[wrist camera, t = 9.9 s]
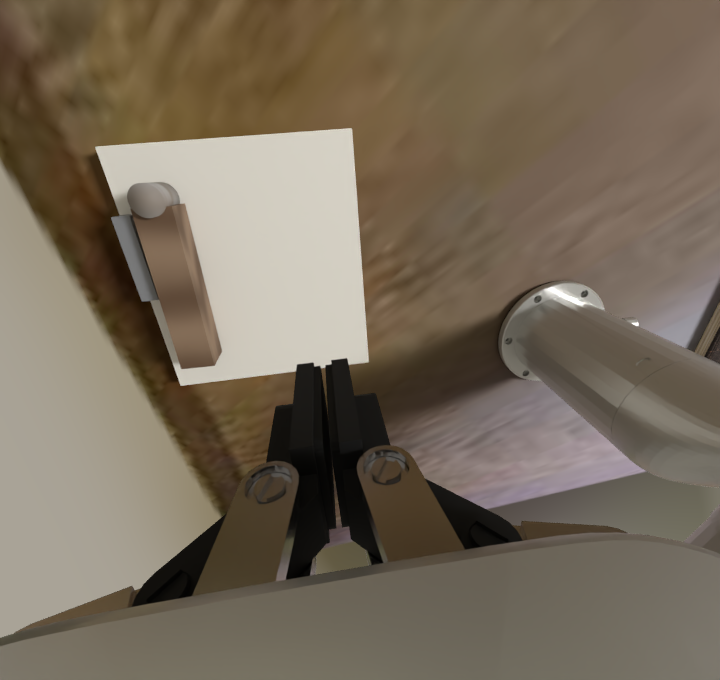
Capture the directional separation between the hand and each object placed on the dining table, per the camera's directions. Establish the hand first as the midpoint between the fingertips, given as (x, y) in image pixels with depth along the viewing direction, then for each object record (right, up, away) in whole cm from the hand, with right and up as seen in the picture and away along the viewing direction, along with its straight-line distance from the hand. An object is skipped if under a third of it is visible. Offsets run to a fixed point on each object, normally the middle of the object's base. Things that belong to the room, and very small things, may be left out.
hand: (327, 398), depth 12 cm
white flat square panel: (-9, +9, +22) cm, 26 cm away
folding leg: (-15, +8, +20) cm, 26 cm away
